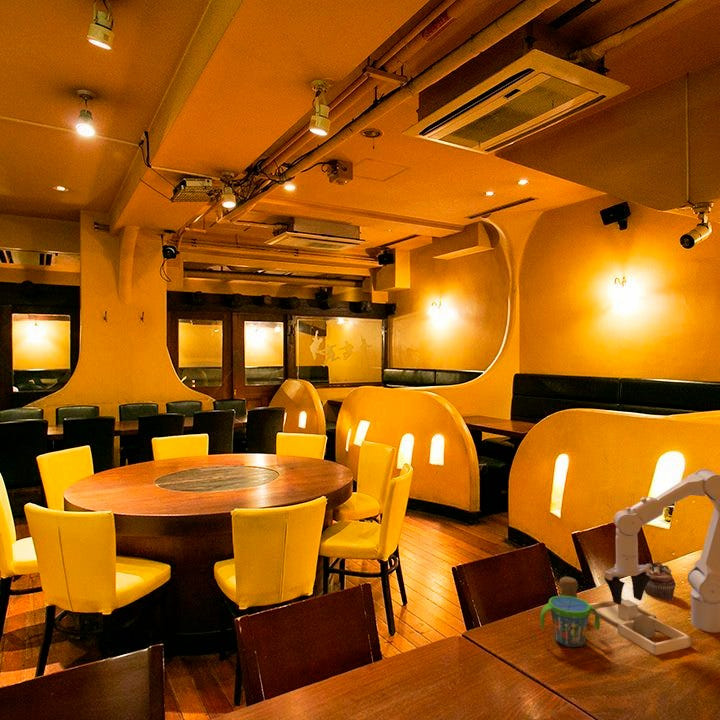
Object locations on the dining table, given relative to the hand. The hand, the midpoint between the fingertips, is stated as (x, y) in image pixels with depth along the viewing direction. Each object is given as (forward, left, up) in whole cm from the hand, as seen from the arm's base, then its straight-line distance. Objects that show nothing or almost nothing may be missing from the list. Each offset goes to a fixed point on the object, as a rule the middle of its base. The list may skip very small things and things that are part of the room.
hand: (627, 600), depth 153 cm
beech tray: (0, -3, -6) cm, 7 cm away
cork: (+13, -9, -6) cm, 17 cm away
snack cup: (+23, +3, -6) cm, 24 cm away
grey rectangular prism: (+3, +8, -5) cm, 10 cm away
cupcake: (-23, -10, -6) cm, 26 cm away
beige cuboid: (0, 0, -5) cm, 5 cm away
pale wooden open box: (+3, +11, -6) cm, 13 cm away
